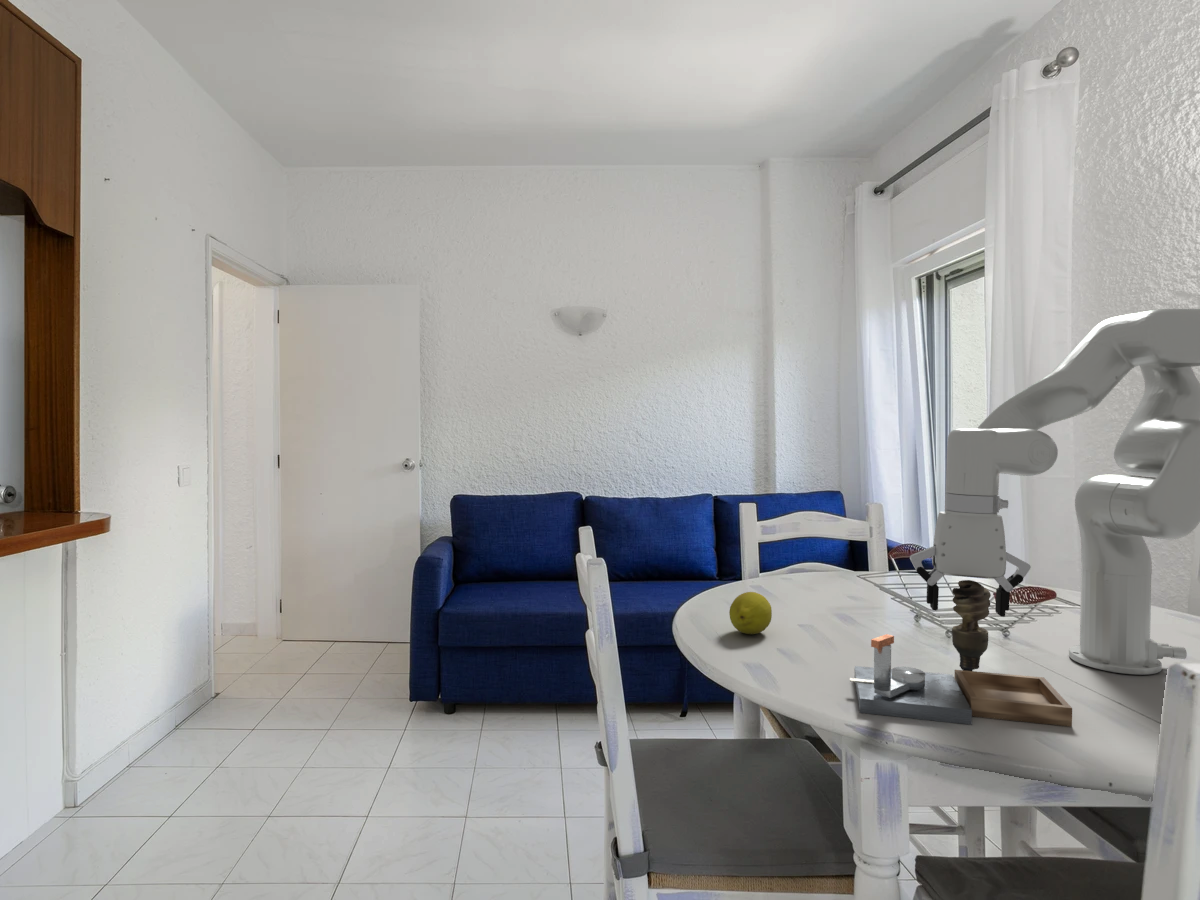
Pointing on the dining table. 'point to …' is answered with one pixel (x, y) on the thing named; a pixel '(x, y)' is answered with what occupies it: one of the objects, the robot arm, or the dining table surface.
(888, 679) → the crank
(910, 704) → the crank base
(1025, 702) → the tray
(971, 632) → the light bulb
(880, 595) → the dining table surface
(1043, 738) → the dining table surface
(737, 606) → the lemon
